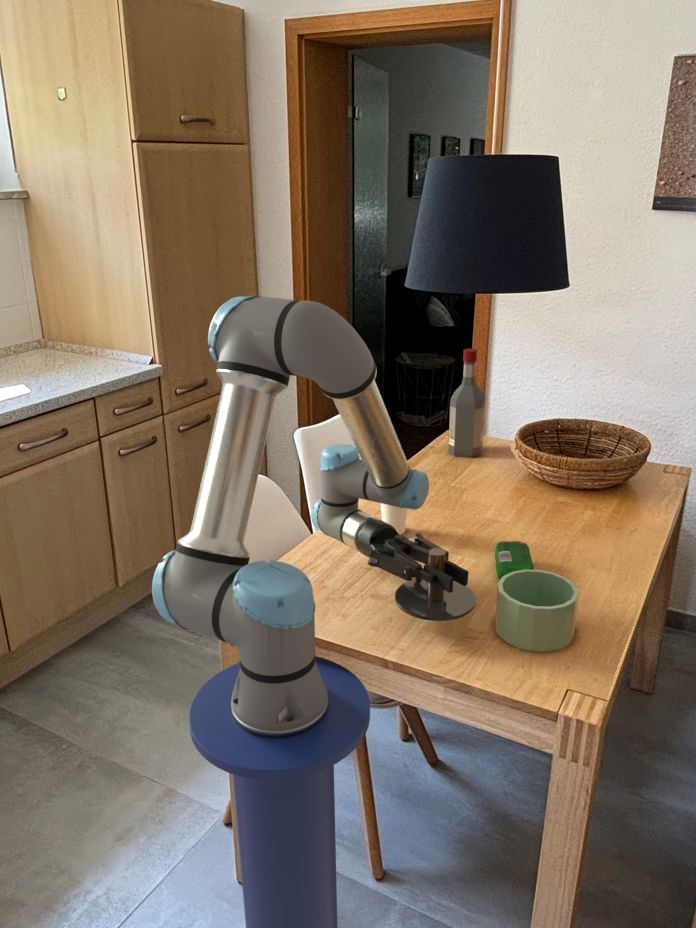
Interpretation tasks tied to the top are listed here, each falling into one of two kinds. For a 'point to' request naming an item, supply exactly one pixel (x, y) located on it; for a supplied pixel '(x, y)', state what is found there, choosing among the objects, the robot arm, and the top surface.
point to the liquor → (467, 412)
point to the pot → (536, 610)
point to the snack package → (512, 557)
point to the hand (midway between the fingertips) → (458, 581)
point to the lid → (435, 595)
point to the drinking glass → (394, 517)
